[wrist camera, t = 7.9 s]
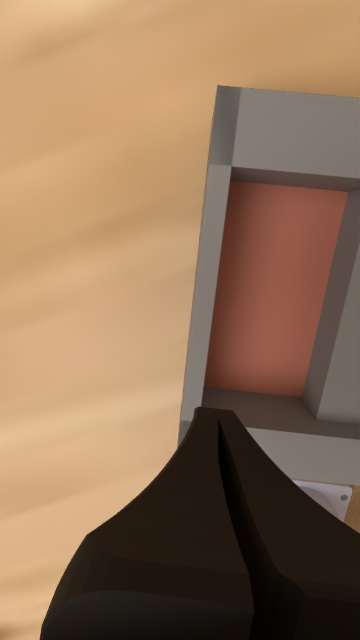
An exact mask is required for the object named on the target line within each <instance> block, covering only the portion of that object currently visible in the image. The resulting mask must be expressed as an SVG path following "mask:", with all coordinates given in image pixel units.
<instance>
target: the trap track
mask: <svg viewBox="0 0 360 640" xmlns="http://www.w3.org/2000/svg"><path fill="white" fill-rule="evenodd" d="M197 407H207V408H216V409H225V410H233V411H234V413H235V414H236V415H237V417H238V418H239V419H240V421H241V422H242V424H243V425H244V426H245V428H246V429H247V430H248V432H249V433H250V434H251V436H252V437H253V438H254V440H255V441H256V442H257V443H258V445H259V446H260V447H261V448H262V450H263V451H264V452H265V453H266V454H267V455H268V456H269V458H270V459H271V460H272V461H273V462H274V463H275V464H276V465H277V466H278V467H279V468H280V469H281V470H282V471H283V472H284V473H285V474H286V475H287V476H288V477H289V478H294V479H303V480H312V481H320V482H329V483H338V484H347V485H356V486H360V98H353V97H342V96H331V95H320V94H309V93H297V92H286V91H275V90H264V89H253V88H242V87H231V86H220V85H218V86H217V93H216V99H215V106H214V112H213V119H212V128H211V137H210V146H209V156H208V165H207V174H206V183H205V192H204V202H203V211H202V220H201V229H200V238H199V248H198V257H197V266H196V275H195V285H194V294H193V303H192V312H191V321H190V331H189V340H188V349H187V358H186V368H185V377H184V386H183V395H182V404H181V414H180V424H179V435H178V447H179V445H180V444H181V442H182V440H183V439H184V437H185V435H186V433H187V431H188V429H189V427H190V424H191V422H192V419H193V416H194V409H195V408H197ZM178 447H177V448H178Z"/></svg>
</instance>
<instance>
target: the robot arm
mask: <svg viewBox="0 0 360 640" xmlns="http://www.w3.org/2000/svg"><path fill="white" fill-rule="evenodd" d="M352 493H353V490H352V488H351V486H350V485H347V484H338V483H329V482H320V481H312V480H303V479H294V478H289V477H288V476H287V475H286V474H285V473H284V472H283V471H282V470H281V469H280V468H279V467H278V466H277V465H276V464H275V463H274V462H273V461H272V460H271V459H270V458H269V456H268V455H267V454H266V453H265V452H264V451H263V450H262V448H261V447H260V446H259V445H258V443H257V442H256V441H255V440H254V438H253V437H252V436H251V434H250V433H249V432H248V430H247V429H246V428H245V426H244V425H243V424H242V422H241V421H240V419H239V418H238V417H237V415H236V414H235V413H234V411H233V410H225V409H216V408H207V407H197V408H195V409H194V416H193V419H192V422H191V424H190V427H189V429H188V431H187V433H186V435H185V437H184V439H183V440H182V442H181V444H180V445H179V447H178V448H177V450H176V452H175V453H174V455H173V456H172V458H171V459H170V460H169V462H168V463H167V464H166V466H165V467H164V468H163V469H162V471H161V472H160V473H159V474H158V475H157V476H156V478H155V479H154V480H153V481H152V482H151V483H150V484H149V485H148V486H147V487H146V488H145V489H144V490H143V491H142V492H141V493H140V494H139V495H138V496H137V497H136V498H134V499H133V500H132V501H131V502H130V503H129V504H128V505H126V506H125V507H124V508H123V509H122V510H121V511H119V512H118V513H117V514H116V515H114V516H113V517H112V518H110V519H109V520H107V521H106V522H105V523H103V524H102V525H100V526H99V527H97V528H96V529H95V530H93V531H92V532H90V533H89V534H87V535H86V537H85V538H84V540H83V541H82V543H81V545H80V546H79V548H78V549H77V551H76V553H75V554H74V556H73V558H72V559H71V561H70V563H69V565H68V566H67V568H66V570H65V572H64V574H63V576H62V578H61V580H60V582H59V584H58V586H57V588H56V591H55V593H54V596H53V598H52V601H51V603H50V606H49V609H48V611H47V614H46V616H45V619H44V621H43V624H42V628H41V635H40V640H360V533H358V532H357V531H355V530H354V529H352V528H351V527H349V526H348V525H346V524H345V523H344V519H345V516H346V512H347V509H348V506H349V503H350V499H351V496H352ZM342 495H344V496H342Z"/></svg>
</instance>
